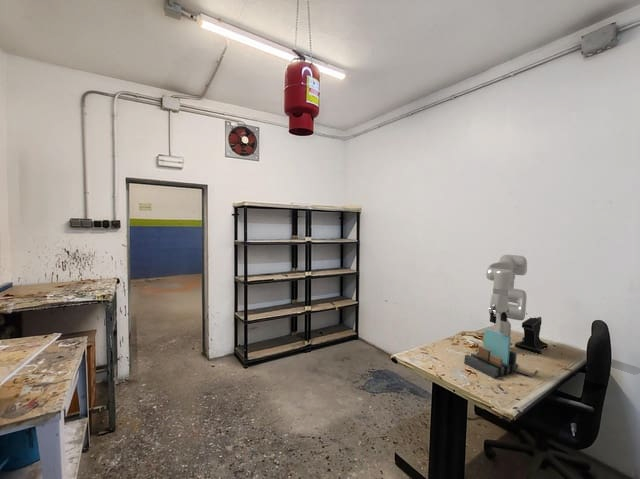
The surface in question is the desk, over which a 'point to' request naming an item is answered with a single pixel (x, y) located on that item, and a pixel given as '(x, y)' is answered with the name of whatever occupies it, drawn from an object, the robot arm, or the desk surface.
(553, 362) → the desk surface
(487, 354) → the walnut offcut
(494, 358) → the oak offcut
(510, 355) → the offcut rack
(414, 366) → the desk surface
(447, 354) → the desk surface
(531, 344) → the anvil
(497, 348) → the tall sheet
